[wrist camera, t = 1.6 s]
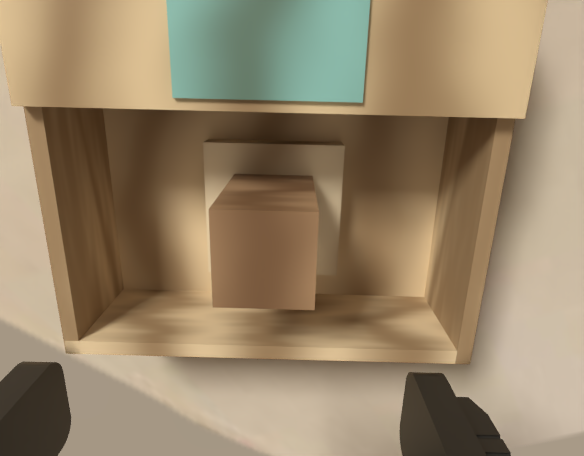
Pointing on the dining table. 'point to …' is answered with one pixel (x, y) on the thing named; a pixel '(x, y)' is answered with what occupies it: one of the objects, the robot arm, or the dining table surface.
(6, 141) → the dining table surface
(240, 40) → the crate
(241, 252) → the block
